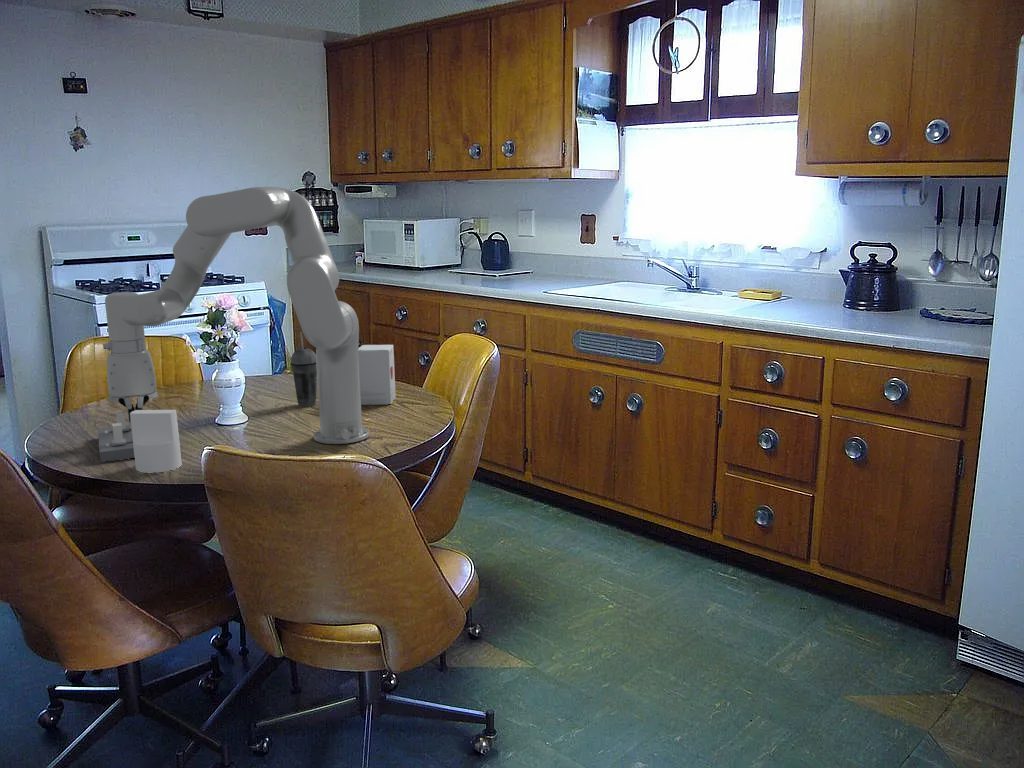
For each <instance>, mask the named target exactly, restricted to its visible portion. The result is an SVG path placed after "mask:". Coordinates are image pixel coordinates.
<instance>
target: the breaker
mask: <svg viewBox="0 0 1024 768" xmlns="http://www.w3.org/2000/svg"><path fill="white" fill-rule="evenodd" d="M111 425H112V426H111V427H113V436H114V440H112V446H116V445H124V444H126V440H125V439H123V434H122V425H121V423H117V422H115V423H112V424H111Z"/></svg>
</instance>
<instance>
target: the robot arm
mask: <svg viewBox="0 0 1024 768" xmlns="http://www.w3.org/2000/svg"><path fill="white" fill-rule="evenodd" d="M185 220H186V224H187V226H186V227H185V229H184V230H183V232H182V233H181V234H180V236H179V238H178V239H177V240H176V242H175V243H174V245H173V247H172V254H173V257H174V265H173V268H172V270H171V272H170V274H169V275H168V277H167V279H165V281H164V282H163V283H162V285H161V287H160V288H159V289H157V290H154V291H150V292H146V293H142V294H138V293H137V292H133V291H131V292H130V291H121V292H113V293H109V294H107V295H106V296H105V299H104V304H105V315H106V323H107V331H108V339H109V341H108V342H106V343H102V350H108V351H110V352H109V353H107V357H106V375H107V377H106V378H107V379H106V380H107V389H108V398H107V399H108V401H109V403H115V404H120V405H122V406H123V407H125V408H126V410H127V413H128V414H127V415H128V421H129V423H131V419H130V413H131V412H132V411H135V410H143V407H144V406H145V404H147V402H148V401H149V400H153V399H155V398H158V397H159V393H158V390H157V379H156V378H157V377H156V373H155V367H154V362H153V361H154V360H153V358H152V353H151V351H150V350H148V349H147V346H146V345H147V344H146V337H145V336H146V335H145V327H157V326H158V327H159V326H161V325H163V324H166V323H169V322H172V321H174V320H177V319H178V318H179V317H180V316H182V314H184V313H185V312H186V310H187V308H188V307H189V305H190V304H191V303H192V302H193V301H194V300H193V299H194V298H195V297H196V295H197V294H198V292H199V290H201V287H202V284H203V282H204V279H205V278H206V275H207V271H208V269H209V268H210V266H211V264H212V262H213V261H214V260H215V258H217V255H218V254H219V252H220V251H221V249H222V248H223V246H224V245H225V243H226V242H227V241H228V240H229V238H230V236H231V234H233V233H239V232H244V231H250V230H254V229H261V228H263V229H264V228H268V227H273V226H278V227H280V228H281V230H282V231H283V235H284V240H285V244H286V247H287V250H288V252H289V254H290V257H291V260H292V262H293V263H292V265H291V266H290V267H289V269H288V271H287V273H286V286H287V287H286V288H287V292H288V295H289V297H290V300H291V303H292V305H293V306H292V307H293V308H294V311H295V314H296V316H297V319H298V323H299V325H300V327H301V330H302V334H303V335H304V337H305V339H306V340H307V342H309V344H310V345H312V347H314V348H316V349H315V354H316V366H317V385H316V386H317V397H318V411H319V428H320V429H319V430H317V431H315V432H314V433H313V438H314V439H313V440H314V441H316V442H318V443H321V444H327V445H343V444H351V443H358V442H360V441H364V440H365V439H368V437H370V430H369V429H368V428H366V427H364V426H363V420H362V405H361V397H360V378H359V354H358V349H359V343H360V337H359V335H360V325H359V324H360V323H359V318H358V316H357V313H356V311H355V309H354V308H353V307H352V306H351V305H349V304H348V303H347V302H345V301H341V300H338V297H337V293H336V292H335V291H336V290H337V288H338V286H339V284H340V283H339V282H340V275H339V271H338V268H337V265H336V263H335V261H334V257H333V254H332V252H331V249H330V247H329V243H328V241H327V239H326V236H325V234H324V230H323V228H322V225H321V222H320V220H319V217H318V214H317V212H316V211H315V209H314V207H313V206H312V204H311V202H309V201H308V199H307V198H306V197H304V196H303V195H302V194H300V193H298V192H296V191H294V190H291V189H288V188H283V187H279V186H254V187H248V188H243V189H239V190H238V189H236V190H233V191H227V192H222V193H217V194H211V195H203V196H199V197H197V198H195V199H194V200H192V201H191V203H190V204H189V205H188V207H187V208H186V213H185ZM133 397H136V403H135V407H134V404H132V401H131V398H133Z"/></svg>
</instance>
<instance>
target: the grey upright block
mask: <svg viewBox="0 0 1024 768" xmlns="http://www.w3.org/2000/svg"><path fill="white" fill-rule="evenodd" d="M130 419H131V422H130V425H131V428H132V437H133V448H134V457H135V459H134V464H135V465H134V466H135V471H136V470H137V471H140V472H147V473H153V472H163V471H169V470H173V471H175V470H177V469H176V468H178V469H179V467H180V466H181V465H182V466H183V463H182V453H181V445H180V435H179V434H180V433H179V424H178V413H177V409H142V410H135V411H132V412H131V413H130ZM182 466H181V467H182ZM181 467H180V468H181ZM174 469H175V470H174ZM137 471H136V472H137ZM169 472H170V471H169Z"/></svg>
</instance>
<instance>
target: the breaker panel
mask: <svg viewBox="0 0 1024 768" xmlns="http://www.w3.org/2000/svg"><path fill="white" fill-rule="evenodd" d="M126 426H128V428H129V431H123V432H122V434H123V439H125V440H126V444H124V445H116V446H112V440H114V436H113V427H112V426H108V427H107V426H106V427H98V428H97V435H98V449H99V450H98V451H99V459H100V463H101V462H104V461H112V460H120V459H128V458H135V457H134V448H133V437H132V428H131V424H126ZM128 460H129V459H128ZM120 461H121V460H120Z"/></svg>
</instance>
